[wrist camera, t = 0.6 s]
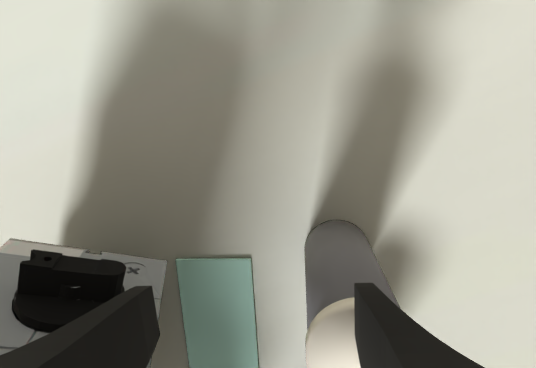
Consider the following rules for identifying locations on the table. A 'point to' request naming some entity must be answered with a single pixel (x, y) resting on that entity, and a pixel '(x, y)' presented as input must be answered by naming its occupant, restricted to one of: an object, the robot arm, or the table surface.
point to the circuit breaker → (63, 286)
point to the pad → (218, 312)
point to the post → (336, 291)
